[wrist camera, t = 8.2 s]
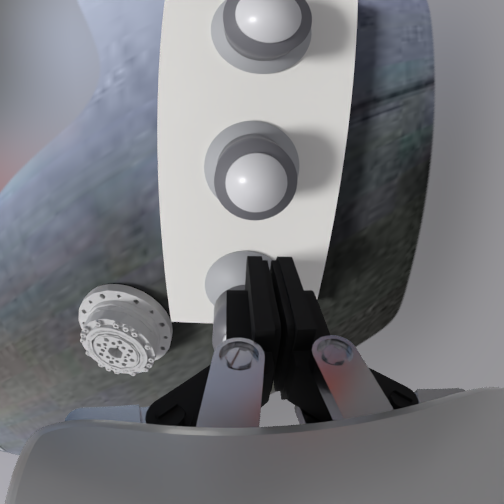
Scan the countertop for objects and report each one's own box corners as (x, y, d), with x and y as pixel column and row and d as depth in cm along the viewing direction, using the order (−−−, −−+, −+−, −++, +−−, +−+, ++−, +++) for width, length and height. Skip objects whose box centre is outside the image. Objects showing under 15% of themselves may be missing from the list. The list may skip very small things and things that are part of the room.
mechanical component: (95, 264, 25) (76, 329, 29) (76, 292, 21) (62, 357, 25) (189, 310, 28) (154, 365, 32) (184, 343, 24) (148, 395, 28)
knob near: (226, -5, 13) (226, -24, 10) (301, 2, 13) (315, -15, 10) (221, 59, 15) (219, 50, 12) (296, 64, 15) (310, 58, 12)
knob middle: (217, 132, 17) (214, 140, 14) (290, 136, 17) (303, 145, 14) (215, 200, 19) (213, 221, 16) (284, 203, 19) (293, 224, 17)
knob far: (213, 283, 19) (211, 318, 16) (282, 284, 19) (290, 318, 17) (214, 333, 21) (213, 368, 18) (274, 333, 22) (280, 367, 19)
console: (175, -9, 14) (167, -24, 12) (342, 4, 15) (359, -7, 13) (175, 299, 27) (170, 323, 24) (304, 301, 28) (312, 324, 25)
